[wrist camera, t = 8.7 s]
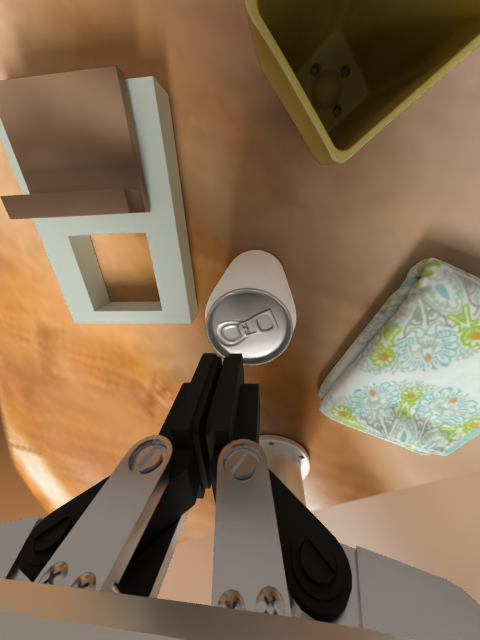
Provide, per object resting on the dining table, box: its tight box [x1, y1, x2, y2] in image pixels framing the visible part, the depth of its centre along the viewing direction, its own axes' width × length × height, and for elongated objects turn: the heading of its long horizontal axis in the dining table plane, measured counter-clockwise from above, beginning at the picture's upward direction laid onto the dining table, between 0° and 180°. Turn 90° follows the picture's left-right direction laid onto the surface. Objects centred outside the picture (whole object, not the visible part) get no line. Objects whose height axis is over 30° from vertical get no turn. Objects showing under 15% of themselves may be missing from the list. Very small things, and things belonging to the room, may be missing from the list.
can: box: [205, 250, 296, 366], centre depth 20 cm, size 6×6×12 cm
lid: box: [0, 66, 151, 219], centre depth 17 cm, size 9×10×4 cm
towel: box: [318, 258, 480, 456], centre depth 26 cm, size 18×21×5 cm
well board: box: [0, 76, 198, 323], centre depth 23 cm, size 20×14×3 cm
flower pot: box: [244, 0, 480, 164], centre depth 14 cm, size 9×9×9 cm
